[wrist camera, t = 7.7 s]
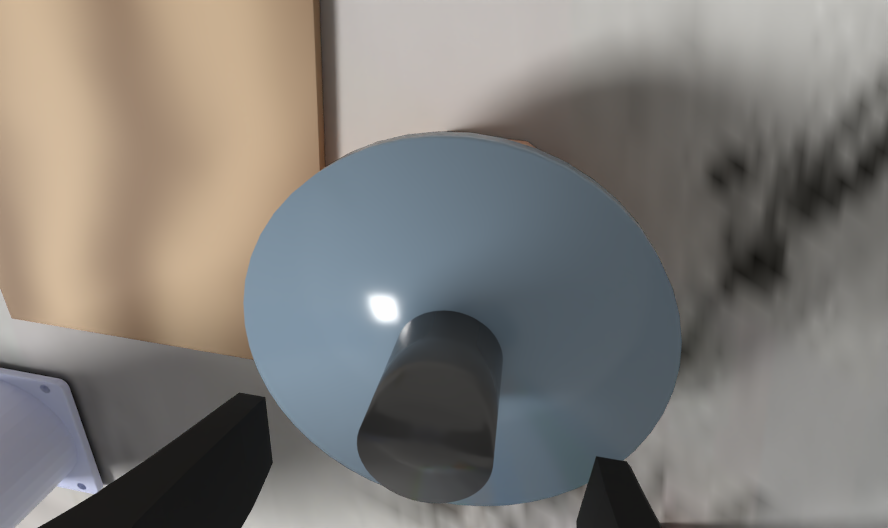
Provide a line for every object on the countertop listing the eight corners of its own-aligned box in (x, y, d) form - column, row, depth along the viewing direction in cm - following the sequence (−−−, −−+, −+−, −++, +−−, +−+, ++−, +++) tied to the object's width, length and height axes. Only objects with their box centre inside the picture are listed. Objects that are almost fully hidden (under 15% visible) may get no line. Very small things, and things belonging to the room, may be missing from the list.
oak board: (21, 312, 23) (11, 318, 23) (-121, -73, 17) (-139, -75, 16) (331, 365, 22) (327, 372, 21) (318, -38, 15) (311, -39, 14)
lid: (276, 451, 18) (207, 568, 14) (232, 108, 13) (102, 151, 9) (618, 514, 17) (641, 661, 13) (738, 159, 11) (840, 236, 7)
